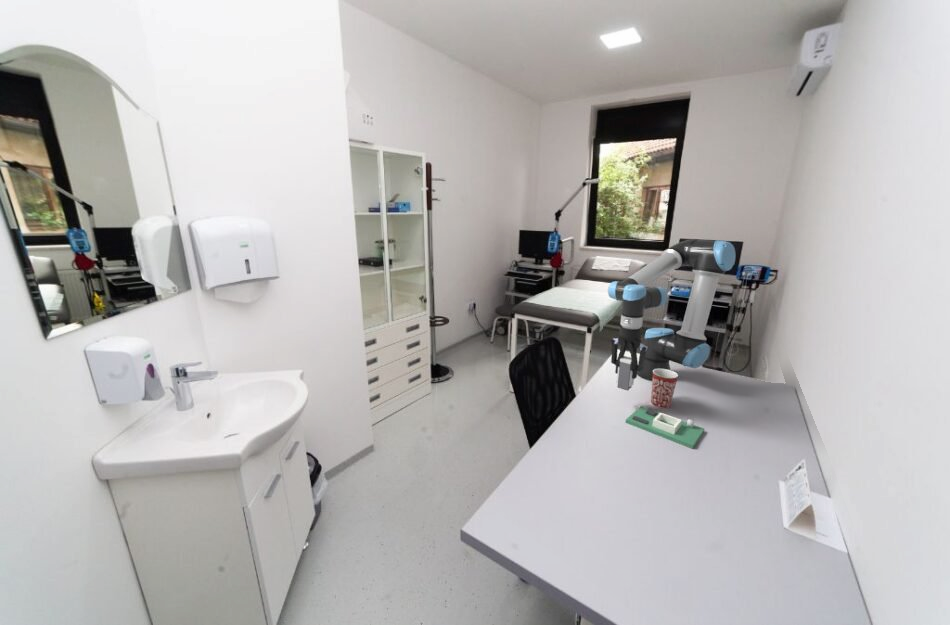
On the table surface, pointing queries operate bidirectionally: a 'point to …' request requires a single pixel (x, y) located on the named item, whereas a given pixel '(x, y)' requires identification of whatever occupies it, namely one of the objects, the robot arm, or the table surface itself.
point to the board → (666, 426)
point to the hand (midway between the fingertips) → (624, 383)
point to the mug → (663, 387)
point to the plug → (624, 373)
